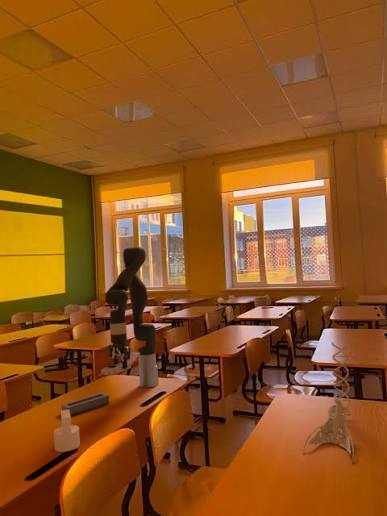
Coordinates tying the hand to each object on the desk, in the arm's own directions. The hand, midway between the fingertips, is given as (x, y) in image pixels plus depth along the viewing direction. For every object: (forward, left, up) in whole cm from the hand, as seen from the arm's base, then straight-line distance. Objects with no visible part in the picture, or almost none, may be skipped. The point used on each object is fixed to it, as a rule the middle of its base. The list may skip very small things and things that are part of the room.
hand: (120, 367), depth 193 cm
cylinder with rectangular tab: (+38, +19, -18) cm, 46 cm away
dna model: (-50, +84, -18) cm, 100 cm away
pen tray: (+13, -11, -18) cm, 24 cm away
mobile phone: (0, 0, -2) cm, 2 cm away
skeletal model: (-24, +94, -18) cm, 98 cm away
